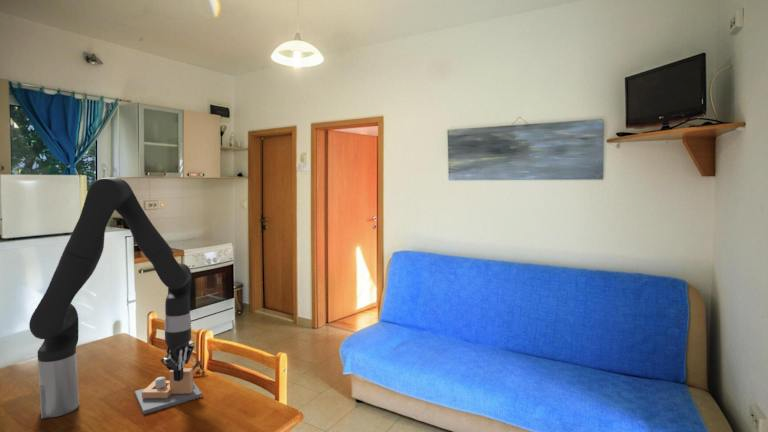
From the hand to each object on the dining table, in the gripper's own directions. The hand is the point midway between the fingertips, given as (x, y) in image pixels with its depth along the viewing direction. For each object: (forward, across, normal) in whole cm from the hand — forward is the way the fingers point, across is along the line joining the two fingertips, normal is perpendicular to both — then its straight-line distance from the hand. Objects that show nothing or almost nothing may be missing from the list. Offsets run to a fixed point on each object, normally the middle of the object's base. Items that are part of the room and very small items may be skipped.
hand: (178, 380), depth 135 cm
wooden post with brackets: (+7, +17, +8) cm, 20 cm away
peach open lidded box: (+6, +2, +5) cm, 8 cm away
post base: (+7, +2, +6) cm, 9 cm away
